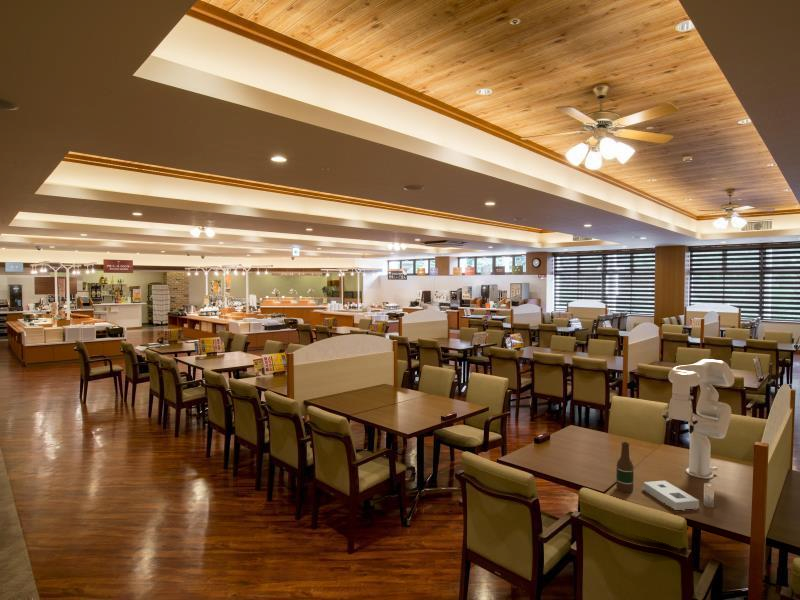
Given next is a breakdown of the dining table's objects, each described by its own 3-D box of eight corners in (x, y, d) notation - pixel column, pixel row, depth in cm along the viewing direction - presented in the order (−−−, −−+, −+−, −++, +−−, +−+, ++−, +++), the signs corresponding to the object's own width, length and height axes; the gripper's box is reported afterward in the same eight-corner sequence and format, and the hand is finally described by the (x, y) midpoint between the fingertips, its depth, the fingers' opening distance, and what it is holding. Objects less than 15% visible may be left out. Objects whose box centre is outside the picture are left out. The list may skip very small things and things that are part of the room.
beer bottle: (632, 494, 230) (633, 446, 229) (615, 490, 234) (615, 443, 233) (634, 488, 236) (634, 442, 235) (617, 484, 240) (617, 439, 239)
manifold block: (664, 488, 236) (664, 480, 236) (698, 508, 215) (699, 500, 214) (643, 489, 234) (643, 482, 234) (675, 511, 213) (675, 502, 213)
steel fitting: (708, 503, 220) (709, 482, 220) (715, 507, 216) (716, 486, 216) (701, 504, 219) (701, 483, 219) (708, 508, 215) (708, 486, 215)
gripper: (702, 398, 231) (701, 432, 231) (663, 393, 242) (662, 425, 243) (699, 401, 225) (698, 436, 226) (659, 395, 237) (658, 428, 237)
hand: (679, 430), depth 234 cm, fingers open, 9 cm apart
